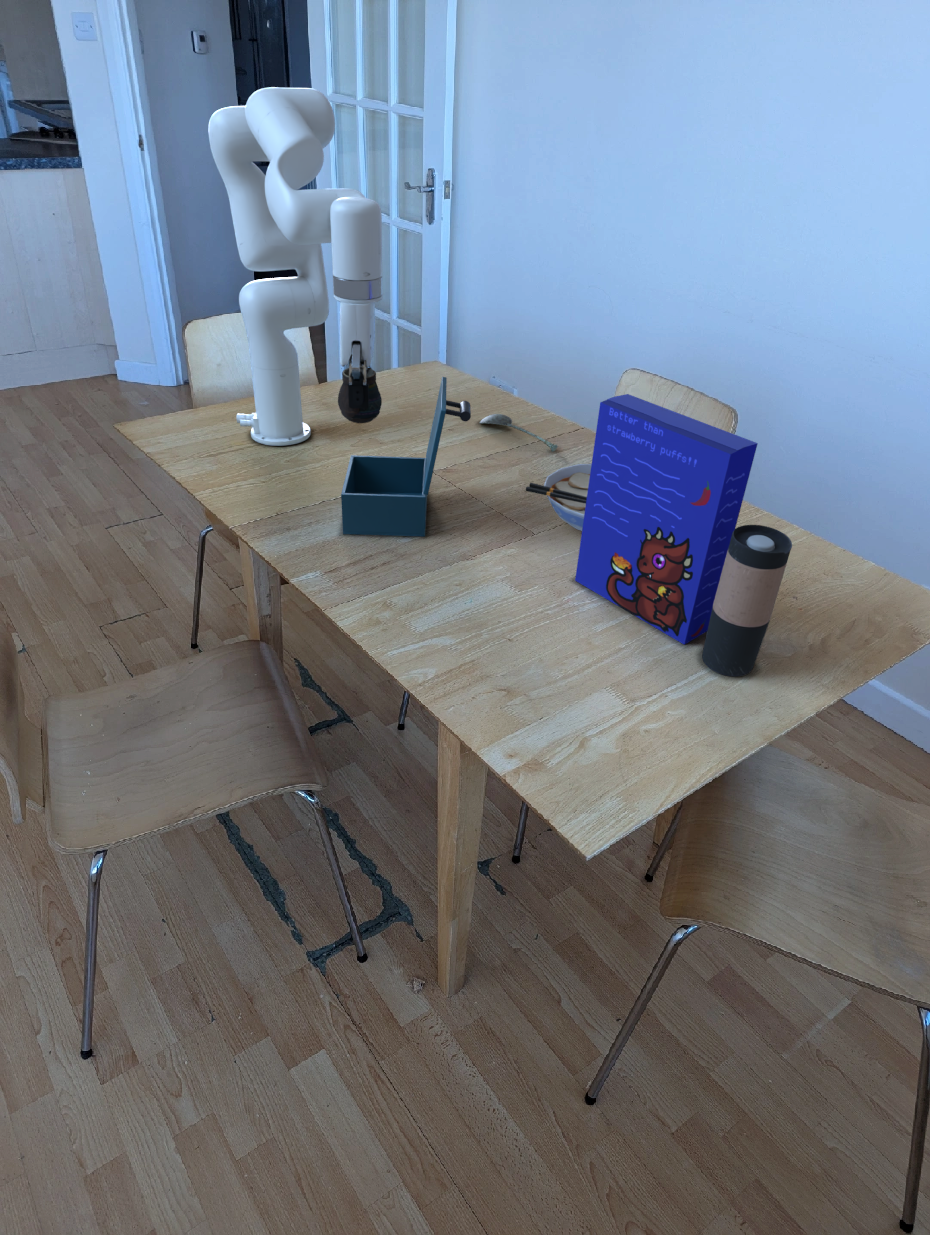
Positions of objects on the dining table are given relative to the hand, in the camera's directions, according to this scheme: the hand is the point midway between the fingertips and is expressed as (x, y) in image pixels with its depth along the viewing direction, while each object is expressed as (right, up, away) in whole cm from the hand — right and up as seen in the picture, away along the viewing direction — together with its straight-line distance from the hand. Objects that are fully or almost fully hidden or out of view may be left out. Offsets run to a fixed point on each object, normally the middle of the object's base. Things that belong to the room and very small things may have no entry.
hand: (360, 398), depth 137 cm
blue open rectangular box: (+3, -18, +12) cm, 22 cm away
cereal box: (+45, -35, -9) cm, 57 cm away
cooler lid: (+12, -5, +4) cm, 13 cm away
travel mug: (+55, -43, -20) cm, 72 cm away
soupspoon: (+29, +4, +45) cm, 54 cm away
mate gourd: (0, -3, +2) cm, 4 cm away
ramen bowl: (+42, -20, +12) cm, 48 cm away
